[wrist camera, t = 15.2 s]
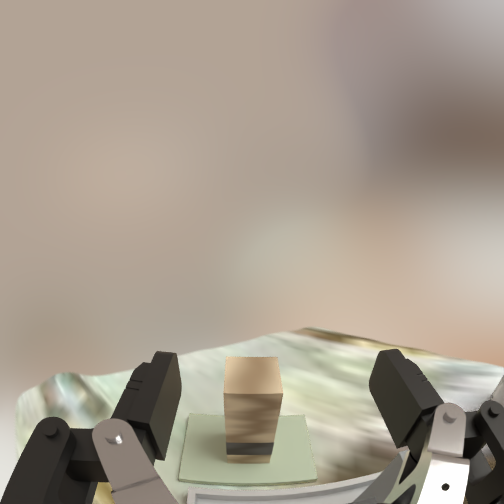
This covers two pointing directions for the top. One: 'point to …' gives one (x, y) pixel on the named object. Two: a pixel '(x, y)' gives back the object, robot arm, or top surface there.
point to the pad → (265, 474)
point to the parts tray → (286, 494)
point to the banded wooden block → (251, 408)
